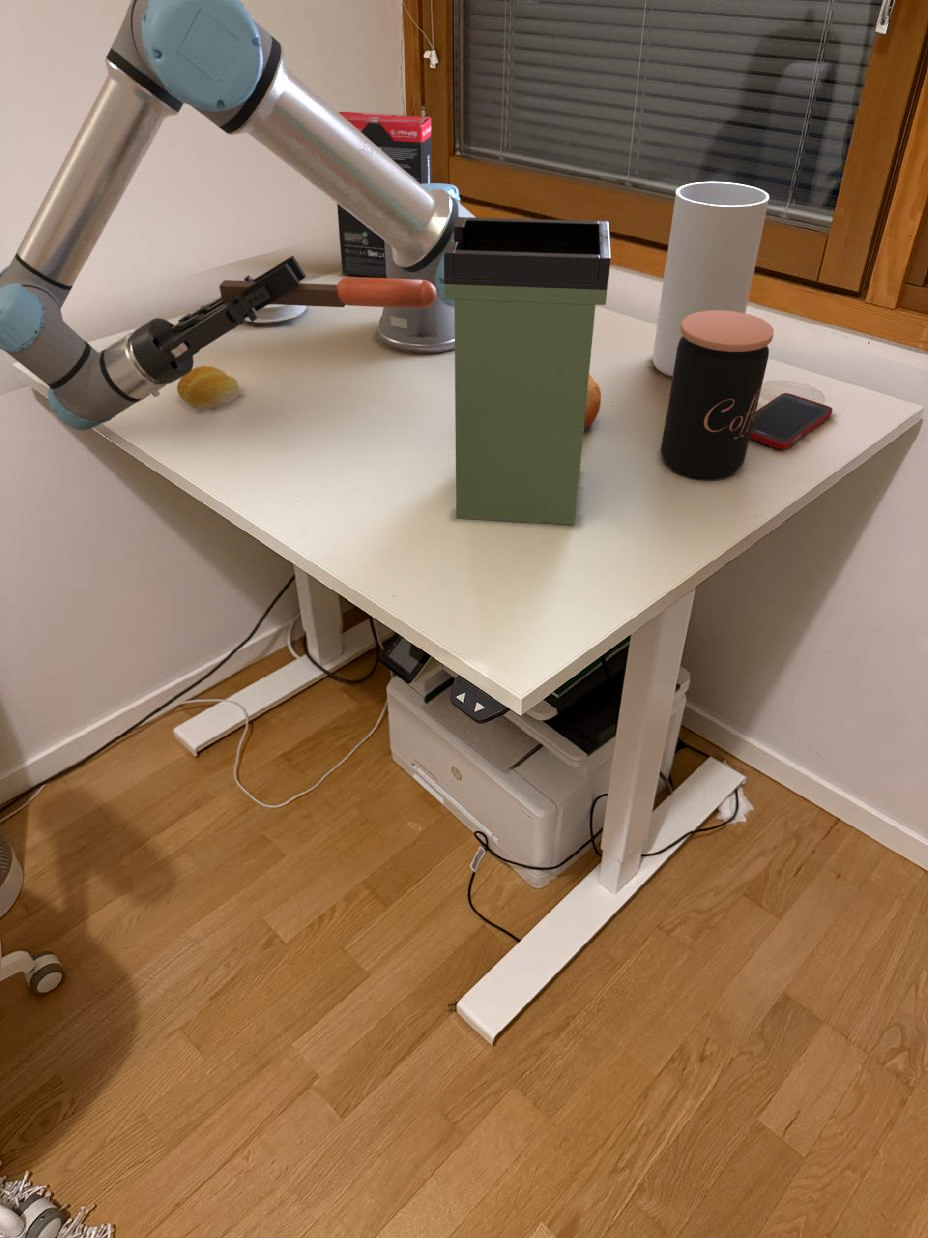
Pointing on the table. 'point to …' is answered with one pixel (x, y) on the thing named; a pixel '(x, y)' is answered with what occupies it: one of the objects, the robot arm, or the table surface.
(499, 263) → the black rectangular open tray
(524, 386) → the shelf stand
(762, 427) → the cell phone
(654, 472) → the table surface
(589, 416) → the fruit
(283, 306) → the lid
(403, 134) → the graphics card box
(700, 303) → the cylinder vase
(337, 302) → the brown orange rod
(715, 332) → the coffee jar
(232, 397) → the bread roll
